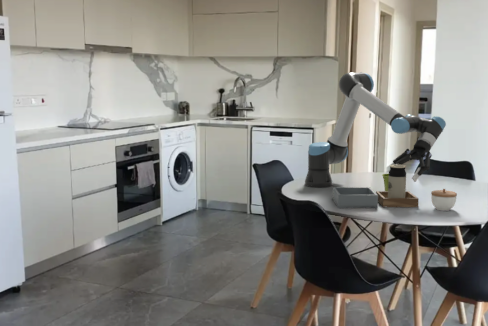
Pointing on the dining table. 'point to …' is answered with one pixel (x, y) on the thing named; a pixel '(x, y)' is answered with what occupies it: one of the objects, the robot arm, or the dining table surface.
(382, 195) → the walnut frame
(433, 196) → the lidded jar
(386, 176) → the plant pot
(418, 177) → the robot arm
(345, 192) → the slate bin
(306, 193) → the dining table surface
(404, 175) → the travel mug
